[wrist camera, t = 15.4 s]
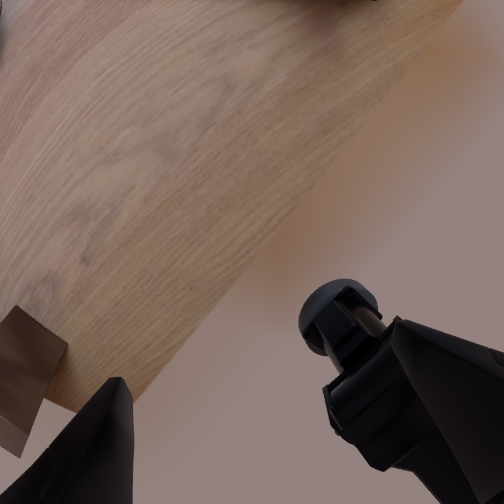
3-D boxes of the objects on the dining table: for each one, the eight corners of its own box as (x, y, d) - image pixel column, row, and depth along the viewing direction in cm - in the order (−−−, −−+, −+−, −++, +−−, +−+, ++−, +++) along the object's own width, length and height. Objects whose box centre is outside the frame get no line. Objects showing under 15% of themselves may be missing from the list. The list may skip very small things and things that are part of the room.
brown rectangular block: (68, 343, 21) (29, 435, 11) (51, 377, 22) (20, 458, 12) (16, 304, 19) (-43, 381, 9) (4, 343, 20) (-40, 416, 10)
